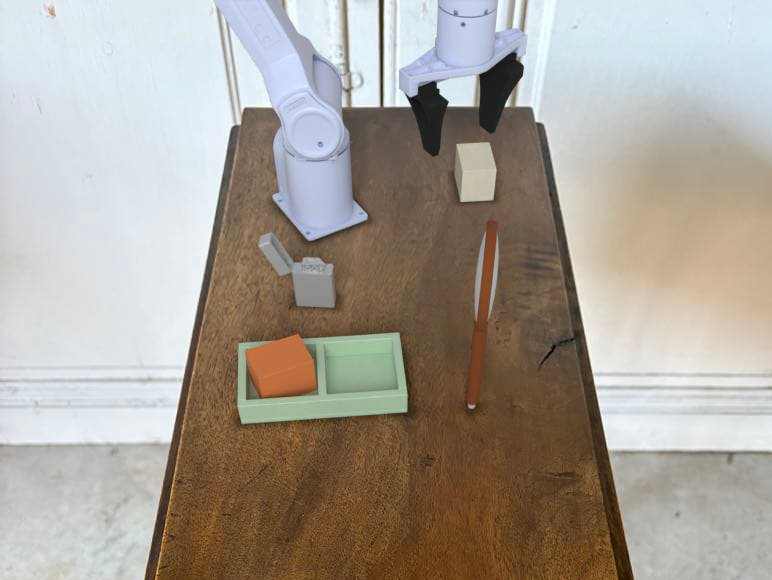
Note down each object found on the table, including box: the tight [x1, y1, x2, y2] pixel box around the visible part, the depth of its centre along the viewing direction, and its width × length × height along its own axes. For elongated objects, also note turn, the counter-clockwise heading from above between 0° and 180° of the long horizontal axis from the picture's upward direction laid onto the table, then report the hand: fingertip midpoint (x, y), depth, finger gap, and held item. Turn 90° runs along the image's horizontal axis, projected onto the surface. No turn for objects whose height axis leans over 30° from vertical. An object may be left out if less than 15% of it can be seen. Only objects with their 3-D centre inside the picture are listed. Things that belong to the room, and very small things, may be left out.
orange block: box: [245, 333, 317, 399], centre depth 77 cm, size 6×4×4 cm
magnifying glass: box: [465, 219, 500, 410], centre depth 69 cm, size 9×2×20 cm, turn 173°
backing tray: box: [236, 332, 409, 425], centre depth 78 cm, size 8×16×2 cm, turn 96°
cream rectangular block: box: [454, 141, 497, 203], centre depth 95 cm, size 6×4×4 cm
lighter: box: [258, 231, 337, 309], centre depth 82 cm, size 7×2×8 cm, turn 87°
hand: (459, 140), depth 87 cm, fingers open, 7 cm apart
